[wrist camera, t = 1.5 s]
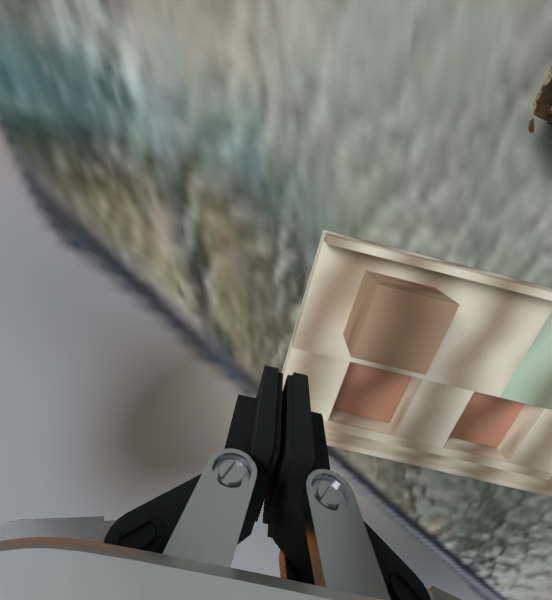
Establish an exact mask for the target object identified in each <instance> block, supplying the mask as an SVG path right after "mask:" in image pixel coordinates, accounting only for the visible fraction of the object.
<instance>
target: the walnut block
mask: <svg viewBox="0 0 552 600" xmlns="http://www.w3.org/2000/svg"><path fill="white" fill-rule="evenodd" d="M458 307H459V304H458V303H457V302H455V301H454V300H452V299H451V298H449V297H448V296H447V295H445V294H444V293H442V292H441V291H439V290H438V289H436V288H435V287H431V286H427V285H423V284H419V283H415V282H411V281H407V280H403V279H399V278H395V277H391V276H387V275H383V274H379V273H375V272H371V271H367V270H365V273H364V276H363V278H362V281H361V284H360V287H359V290H358V293H357V295H356V298H355V301H354V304H353V307H352V309H351V312H350V315H349V318H348V321H347V324H346V326H345V329H344V332H343V336H344V339H345V342H346V344H347V347H348V350H349V353H350V356H351V357H353V358H357V359H361V360H365V361H369V362H373V363H378V364H382V365H386V366H390V367H394V368H398V369H402V370H407V371H411V372H415V373H419V374H423V375H426V373H427V371H428V369H429V367H430V365H431V363H432V361H433V359H434V357H435V355H436V353H437V351H438V349H439V347H440V345H441V342H442V340H443V338H444V336H445V334H446V332H447V330H448V328H449V326H450V324H451V322H452V320H453V318H454V316H455V314H456V312H457V310H458Z"/></svg>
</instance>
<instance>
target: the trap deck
mask: <svg viewBox="0 0 552 600" xmlns="http://www.w3.org/2000/svg"><path fill="white" fill-rule="evenodd" d="M365 270H367V271H371V272H375V273H379V274H383V275H387V276H391V277H395V278H399V279H403V280H407V281H411V282H415V283H419V284H423V285H427V286H431V287H435V288H436V289H438V290H439V291H441V292H442V293H444V294H445V295H447V296H448V297H449V298H451V299H452V300H454V301H455V302H457V303H458V304H459V307H458V310H457V312H456V314H455V316H454V318H453V320H452V322H451V324H450V326H449V328H448V330H447V332H446V334H445V336H444V338H443V340H442V342H441V345H440V347H439V349H438V351H437V353H436V355H435V357H434V359H433V361H432V363H431V365H430V367H429V369H428V371H427V373H426V375H423V374H419V373H415V372H411V371H407V370H402V369H398V368H394V367H390V366H386V365H382V364H378V363H373V362H369V361H365V360H361V359H357V358H353V357H351V356H350V353H349V350H348V347H347V344H346V342H345V339H344V336H343V332H344V329H345V326H346V324H347V321H348V318H349V315H350V312H351V309H352V307H353V304H354V301H355V298H356V295H357V293H358V290H359V287H360V284H361V281H362V278H363V276H364V273H365ZM294 372H295V373H300V374H304V375H307V376H308V383H309V394H310V405H311V411H312V412H317V413H321V414H322V416H323V422H324V429H325V436H326V444H327V445H328V446H332V447H336V448H341V449H345V450H349V451H354V452H358V453H362V454H367V455H371V456H376V457H380V458H384V459H389V460H393V461H397V462H402V463H406V464H410V465H415V466H419V467H424V468H428V469H432V470H437V471H441V472H445V473H450V474H454V475H459V476H463V477H467V478H472V479H476V480H480V481H485V482H489V483H493V484H498V485H502V486H507V487H511V488H515V489H520V490H524V491H528V492H533V493H537V494H542V495H546V496H550V497H552V288H550V287H546V286H542V285H538V284H534V283H530V282H527V281H523V280H519V279H515V278H511V277H507V276H503V275H499V274H495V273H491V272H487V271H483V270H480V269H476V268H472V267H468V266H464V265H460V264H456V263H452V262H448V261H444V260H440V259H436V258H433V257H429V256H425V255H421V254H417V253H413V252H409V251H405V250H401V249H397V248H393V247H389V246H386V245H382V244H378V243H374V242H370V241H366V240H362V239H358V238H354V237H350V236H346V235H343V234H339V233H335V232H331V231H327V230H323V233H322V236H321V240H320V243H319V247H318V250H317V253H316V257H315V260H314V264H313V267H312V271H311V274H310V277H309V281H308V284H307V288H306V291H305V295H304V298H303V301H302V305H301V308H300V312H299V315H298V318H297V322H296V325H295V329H294V332H293V336H292V339H291V342H290V346H289V349H288V353H287V356H286V360H285V363H284V366H283V370H282V373H283V388H284V385H285V381H286V378H287V375H293V373H294ZM282 391H283V390H282Z"/></svg>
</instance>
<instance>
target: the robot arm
mask: <svg viewBox="0 0 552 600" xmlns="http://www.w3.org/2000/svg"><path fill="white" fill-rule="evenodd" d="M282 390H283V391H282ZM264 499H265V500H264ZM263 502H264V512H263V523H265V524H268V537H271V538H273V540H274V541H275V543H276V544H277V545H278V547H279V548H280V553H279V565H280V576H281V578H278V577H273V576H268V575H263V574H259V573H254V572H249V571H244V570H240V569H235V568H230V567H231V563H232V560H233V556H234V553H235V550H236V546H237V544H239V543H240V542H241V541H243V540H244V539H245V538H247V537H248V536H249V535H250V534H251V532H252V529H253V526H254V523H255V521H256V522H257V520H258V517H259V514H260V511H261V508H262V505H263ZM0 600H461V599H459V598H457V597H454V596H452V595H450V594H448V593H446V592H444V591H442V590H440V589H437V588H436V587H433V586H431V588H430V589H427V588H425V586H424V584H423V583H422V582H421V581H420V579H419V578H418V577H417V576H416V574H415V573H414V572H413V571H412V570H411V569H410V568H409V567H408V566H407V565H406V564H405V563H404V562H403V561H402V560H401V559H400V558H399V557H398V556H397V555H396V554H395V553H394V552H393V551H392V550H391V549H390V548H389V546H388V545H387V544H386V543H385V542H384V541H383V540H382V539H381V538H380V537H379V536H378V535H377V534H376V533H375V532H374V531H373V530H372V529H371V528H370V527H369V526H368V525H367V524H366V523H365V522H364V521H363V518H362V515H361V513H360V510H359V507H358V504H357V501H356V498H355V495H354V493H353V490H352V488H351V486H350V485H349V484H348V482H347V481H346V480H345V479H344V478H343V477H341V476H340V475H339V474H337V473H335V472H333V471H331V470H330V465H329V458H328V451H327V444H326V436H325V429H324V422H323V416H322V414H321V413H317V412H312V411H311V405H310V394H309V383H308V376H307V375H304V374H300V373H295V372H294V373H293V375H287V378H286V381H285V385H284V388H283V373H279V369H278V368H274V367H270V366H266V365H265V367H264V371H263V374H262V378H261V382H260V386H259V389H258V393H257V397H256V398H252V397H247V396H243V395H238V399H237V402H236V406H235V410H234V414H233V418H232V422H231V426H230V429H229V433H228V438H227V441H226V445H225V449H223V450H220V451H218V452H216V453H215V454H213V455H212V457H211V458H210V459H209V461H208V463H207V465H206V467H205V469H204V471H203V473H202V474H201V475H199V476H197V477H195V478H193V479H191V480H189V481H187V482H185V483H183V484H182V485H180V486H178V487H176V488H174V489H172V490H170V491H168V492H166V493H164V494H162V495H160V496H158V497H156V498H155V499H153V500H151V501H149V502H147V503H145V504H143V505H141V506H139V507H137V508H135V509H134V510H132V511H130V512H128V513H126V514H125V515H123V516H122V517H120V518H119V519H118V520H113V521H104V516H101V517H73V518H45V519H21V520H16V521H11V522H8V523H6V524H4V525H1V526H0Z"/></svg>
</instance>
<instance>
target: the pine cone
mask: <svg viewBox="0 0 552 600" xmlns="http://www.w3.org/2000/svg"><path fill="white" fill-rule="evenodd" d="M533 113H534V116H535V115H536V116H537V117H539V118H541V119H544V120H547V123H548V124H550V125H551V126H552V67H551V69H550V71H549V73H548V76H547V78H546V80H545V82H544V84H543V86H542V88H541V90H540V92H539V93H538V95H537V97H536V99H535V101H534V104H533ZM529 131H530V132H531V133H532V134H535V133H534V119H532V120H531V121H530V122H529Z"/></svg>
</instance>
